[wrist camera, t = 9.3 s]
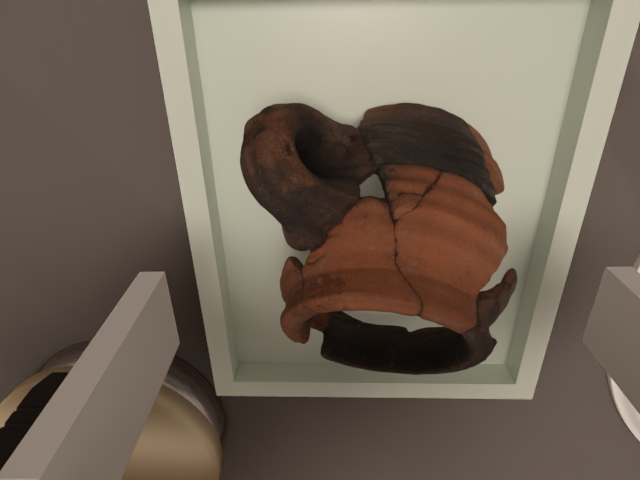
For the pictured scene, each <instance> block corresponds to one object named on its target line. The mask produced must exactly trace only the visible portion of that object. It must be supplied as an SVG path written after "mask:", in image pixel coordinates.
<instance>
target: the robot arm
mask: <svg viewBox="0 0 640 480" xmlns="http://www.w3.org/2000/svg"><path fill="white" fill-rule="evenodd" d="M582 341H583V342H584V343H585V345H586V346H587V347H588V348H589V350H590V351H591V352H592V354H593V355H594V356H595V357H596V359H597V360H598V361H599V363H600V364H601V365H602V366H603V368H604V369H605V370H606V372H607V373H608V374H609V375H610V377H611V378H612V379H613V381H614V382H615V383H616V385H617V386H618V387H619V388H620V390H621V391H622V392H623V394H624V395H625V396H626V397H627V399H628V400H629V401H630V403H631V404H632V405H633V406H634V408H635V409H636V410H637V412H638V413H639V414H640V273H639V272H637V271H636V270H635V269H634V268H633V267H605V270H604V273H603V276H602V279H601V283H600V286H599V289H598V292H597V295H596V298H595V301H594V304H593V307H592V310H591V313H590V316H589V319H588V322H587V325H586V328H585V331H584V334H583V338H582ZM179 344H180V341H179V336H178V331H177V327H176V322H175V317H174V312H173V308H172V303H171V298H170V293H169V289H168V284H167V279H166V274H165V272H139V273H138V275H137V276H136V278H135V279H134V281H133V282H132V283H131V285H130V286H129V288H128V289H127V291H126V292H125V293H124V295H123V296H122V298H121V299H120V301H119V302H118V303H117V305H116V306H115V308H114V309H113V311H112V312H111V313H110V315H109V316H108V318H107V319H106V321H105V322H104V323H103V325H102V326H101V328H100V329H99V331H98V332H97V333H96V335H95V336H94V338H93V339H92V341H91V342H90V343H89V345H88V346H87V348H86V349H85V351H84V352H83V353H82V355H81V356H80V358H79V359H78V361H77V362H76V363H75V365H74V366H73V368H72V369H71V371H70V372H52V373H51V374H49V375H48V376H47V377H45V378H44V379H43V380H42V381H40V382H39V383H38V384H36V385H35V386H34V387H33V388H31V389H30V391H29V392H28V393H27V395H26V396H25V397H24V398H23V400H22V401H21V402H20V404H19V405H18V406H17V410H16V411H13V413H12V414H11V415H10V417H9V418H8V419H7V421H6V422H5V425H4V427H1V428H0V480H121V479H122V476H123V474H124V472H125V469H126V467H127V465H128V462H129V460H130V458H131V455H132V453H133V451H134V448H135V446H136V444H137V441H138V439H139V437H140V434H141V432H142V430H143V427H144V425H145V423H146V421H147V418H148V416H149V414H150V411H151V409H152V407H153V404H154V402H155V400H156V397H157V395H158V393H159V390H160V388H161V386H162V383H163V381H164V379H165V376H166V374H167V372H168V369H169V367H170V365H171V363H172V360H173V358H174V356H175V353H176V351H177V349H178V346H179Z"/></svg>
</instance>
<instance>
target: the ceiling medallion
mask: <svg viewBox="0 0 640 480" xmlns="http://www.w3.org/2000/svg"><path fill="white" fill-rule="evenodd" d="M633 268H634V269H635V270H636V271H637V272H639V273H640V255H639V256H638V258H637V260H636V262H635V263H634V265H633ZM607 379H608V384H609V389H610V392H611V396H612V398H613V401H614V404H615V406H616V408H617V410H618V412H619V414H620V416H621V418H622V419H623V421H624V422H625V424H626V425H627V427H628V428H629V429H630V431H631V432H632V433H633V435H634V436H635V437H636V438H637V439H638V440H639V441H640V414H639V413H638V412H637V410H636V409H635V408H634V406H633V405H632V404H631V403H630V401H629V400H628V399H627V397H626V396H625V395H624V394H623V392H622V391H621V390H620V388H619V387H618V386H617V385H616V383H615V382H614V381H613V379H612V378H611V377H610V375H609V374H608V373H607Z"/></svg>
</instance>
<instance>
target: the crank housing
mask: <svg viewBox="0 0 640 480" xmlns="http://www.w3.org/2000/svg"><path fill="white" fill-rule="evenodd" d="M90 342H91V341H86V342H82V343H79V344H75V345H73V346H70V347H68V348H66V349H64V350H62V351H61V352H59V353H58V354H56V355H55V356H54V357H53V358H52V359H50V360H49V361H48V363H47V364H46V365H45V366H44V368H43V369H42V370H41V371H40V372H42V371H46V370H50V369H53V368H59V367H65V366H74V365H75V363H76V362H77V361H78V359H79V358H80V356H81V355H82V353H83V352H84V351H85V349H86V348H87V346H88V345H89V343H90ZM40 372H39V373H40ZM162 384H163V385H165V386H167V387H169V388H170V389H172V390H174V391H176V392H177V393H179V394H180V395H182V396H183V397H184V398H186V399H187V400H189V401H190V402H191V403H192V404H193V405H194V406H196V407H197V408H198V409H199V410H200V411H201V412H202V413H203V414H204V416H205V417H206V418H207V419H208V420H209V422H210V423H211V425H212V426H213V428H214V429H215V431H216V433H217V435H218V437H219V439H221V435H222V432H223V427H224V412H223V408H222V404H221V402H220V399H219V397H218V396H216V392H215V390H214V389H213V387H212V386H211V384H210V383H209V382H208V381H207V380H206V379H205V377H204V376H202V375H201V374H200V373H199V372H198V371H197V370H196V369H195V368H193V367H192V366H191V365H189V364H188V363H187V362H185V361H183V360H182V359H180V358H178V357H177V356H174V358H173V360H172V363H171V365H170V367H169V369H168V372H167V374H166V376H165V379H164V381H163V383H162Z"/></svg>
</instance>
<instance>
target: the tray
mask: <svg viewBox="0 0 640 480" xmlns="http://www.w3.org/2000/svg"><path fill="white" fill-rule="evenodd" d="M147 1H148V7H149V12H150V18H151V24H152V29H153V35H154V41H155V47H156V52H157V58H158V64H159V70H160V75H161V81H162V87H163V92H164V98H165V104H166V110H167V115H168V121H169V127H170V133H171V138H172V144H173V150H174V155H175V161H176V167H177V173H178V178H179V184H180V190H181V195H182V201H183V207H184V213H185V218H186V224H187V230H188V236H189V241H190V247H191V253H192V258H193V264H194V270H195V276H196V281H197V287H198V293H199V299H200V304H201V310H202V316H203V321H204V327H205V333H206V339H207V344H208V350H209V356H210V362H211V367H212V373H213V379H214V384H215V390H216V396H278V397H373V398H467V399H532V398H533V394H534V391H535V387H536V384H537V380H538V377H539V373H540V370H541V366H542V363H543V359H544V356H545V352H546V348H547V345H548V341H549V338H550V334H551V331H552V327H553V324H554V320H555V317H556V313H557V310H558V306H559V303H560V299H561V296H562V292H563V289H564V285H565V282H566V278H567V275H568V271H569V268H570V264H571V261H572V257H573V254H574V250H575V247H576V243H577V240H578V236H579V233H580V229H581V225H582V222H583V218H584V215H585V211H586V208H587V204H588V201H589V197H590V194H591V190H592V187H593V183H594V180H595V176H596V173H597V169H598V166H599V162H600V159H601V155H602V152H603V148H604V145H605V141H606V138H607V134H608V131H609V127H610V124H611V120H612V117H613V113H614V110H615V106H616V103H617V99H618V95H619V92H620V88H621V85H622V81H623V78H624V74H625V71H626V67H627V64H628V60H629V57H630V53H631V50H632V46H633V43H634V39H635V36H636V32H637V29H638V25H639V22H640V0H147ZM282 103H284V104H288V103H303V104H306V105H309V106H311V107H313V108H315V109H317V110H319V111H320V112H321V113H322V114H324V115H325V116H327V117H329V118H331V119H332V120H335V121H337V122H339V123H341V124H348V125H352V126H354V127H355V128H357V127H358V126H359V125H360V122H361V120H363V119H364V114H365V112H366V111H367V110H368V109H371V108H374V107H379V106H383V105H394V104H398V103H418V104H423V105H426V106H431V107H436V108H441V109H444V110H445V111H447V112H449V113H452V114H454V115H456V116H458V117H460V118H462V119H463V120H465V121H466V123H468V124H470V125H471V126H472V127H473V128H474V129H475V130H477V131H478V132H479V133H480V134H481V136H482V137H483V138H484V140H485V141H486V143H487V145H488V147H489V149H490V151H491V154H492V157H493V159H494V160H495V161H496V162H497V164H498V166H499V168H500V170H501V173H502V176H503V181H504V191H503V192H502V193H500V194H498V195H495V198H496V200H497V203H496V204H495V205H494V206H493V209H494V211H495V212H496V213H497V214H498V215H499V217H500V218H501V219H502V220H503V222H504V223H505V224H506V232H507V245H508V252H507V254H506V255H505V257H504V258H503V260H502V262H501V265H500V266H499V268H498V270H497V271H496V272H495V273H494V274H493V275H492V276H491V279H490V281H489V282H488V283H487V284H486V286H485V287H483V288H482V289H481V290H480V291H486V290H489V289H491V288H493V287H494V286H495V285H496V284H498V283H500V282H501V280H502V278H503V276H504V274H505V273H506V271H507V270H509V269H511V268H514V269H515V270H516V272H517V284H516V288H515V291H514V293H513V294H512V295H511V297H510V300H509V302H508V304H507V306H506V308H505V309H504V311H503V312H502V313H501V314H500V316H499V317H498V318H497V320H496V321H495V322H494V323H493V324H492V325H491V326H490V327H489V332H490V334H491V336H492V338H494V339H496V340H497V344H496V346H495V347H494V349H493V351H492V353H491V354H490V355H489V356H488V357H487V359H486V360H485V361H483V362H481V363H480V364H478V365H476V366H474V367H470V368H469V369H466V370H462V371H458V372H454V373H443V374H421V375H412V374H399V373H386V372H376V371H370V370H365V369H359V368H354V367H350V366H346V365H342V364H339V363H335V362H333V361H329V360H326V359H325V358H323V357H322V356H321V354H320V352H321V346H322V343H323V333H322V332H320V331H317V330H315V329H313V328H311V330H310V337H309V340H308V342H307V343H305V344H301V343H298V342H293V341H292V340H290V339H289V338H288V337H287V336H286V335H285V333H284V332H283V331H282V328H281V325H280V317H281V313H282V312H283V310H284V309H285V305H286V303H285V302H284V300H283V298H282V294H281V290H280V278H281V275H282V270H283V267H284V264H285V261H286V260H287V258H288V257H290V256H294V257H297V258H298V259H299V260H300V262H301V263H302V264H303V265H305V263H306V259H307V257H308V256H309V254H310V250H306V251H298V250H295V249H293V248H291V247H290V246H289V245H288V244H287V242H286V240H285V238H284V234H283V231H282V225H281V224H280V223H279V222H278V221H277V220H276V219H275V218H274V217H273V216H272V215H271V214H270V213H269V212H268V211H267V210H266V209H264V208H263V207H262V206H260V204H259V203H258V202H257V201H256V199H255V198H254V197H253V195H252V194H251V192H250V191H249V189H248V187H247V185H246V183H245V181H244V178H243V175H242V171H241V167H240V152H241V146H242V143H243V135H244V127H245V124H246V122H247V121H248V120H249V119H250V118H252V117H253V116H254V115H256V114H258V113H260V112H261V110H263V109H264V108H265V107H267V106H271V105H273V104H282ZM359 186H360V197H365V196H374V197H378V198H384V197H385V195H384V191H383V189H382V185H381V182H380V180H379V177H378V176H377V175H376V174H373V175H372V176H371V177H369V178H368V179H366V180H365V181H364V182H363V183H362V184H361V185H359ZM343 312H344V313H346V314H348V315H350V316H352V317H353V318H355V319H358V320H360V321H362V322H365V323H371V324H377V325H395V326H401V327H405V328H407V330H408V331H409V332H412V331H415V330H417V329H421V328H425V327H444V326H442V325H439V324H437V323H434V322H431V321H427V320H424V319H422V318H420V317H419V316H407V315H400V314H396V313H390V312H377V311H343Z"/></svg>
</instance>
